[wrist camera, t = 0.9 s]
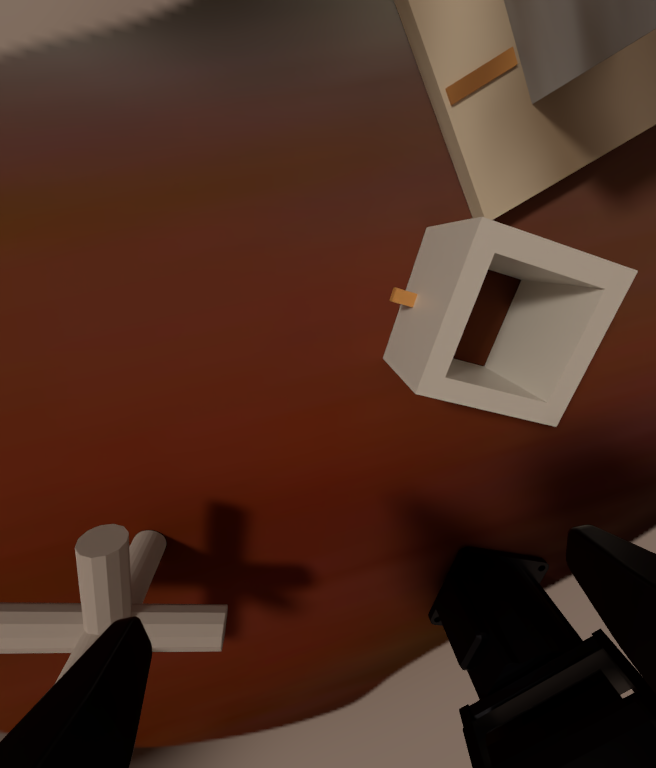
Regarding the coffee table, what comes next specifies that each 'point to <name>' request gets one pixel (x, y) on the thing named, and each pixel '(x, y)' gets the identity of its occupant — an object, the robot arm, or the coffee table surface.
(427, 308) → the square tube segment
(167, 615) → the pipe connector
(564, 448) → the coffee table surface
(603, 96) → the square peg base
